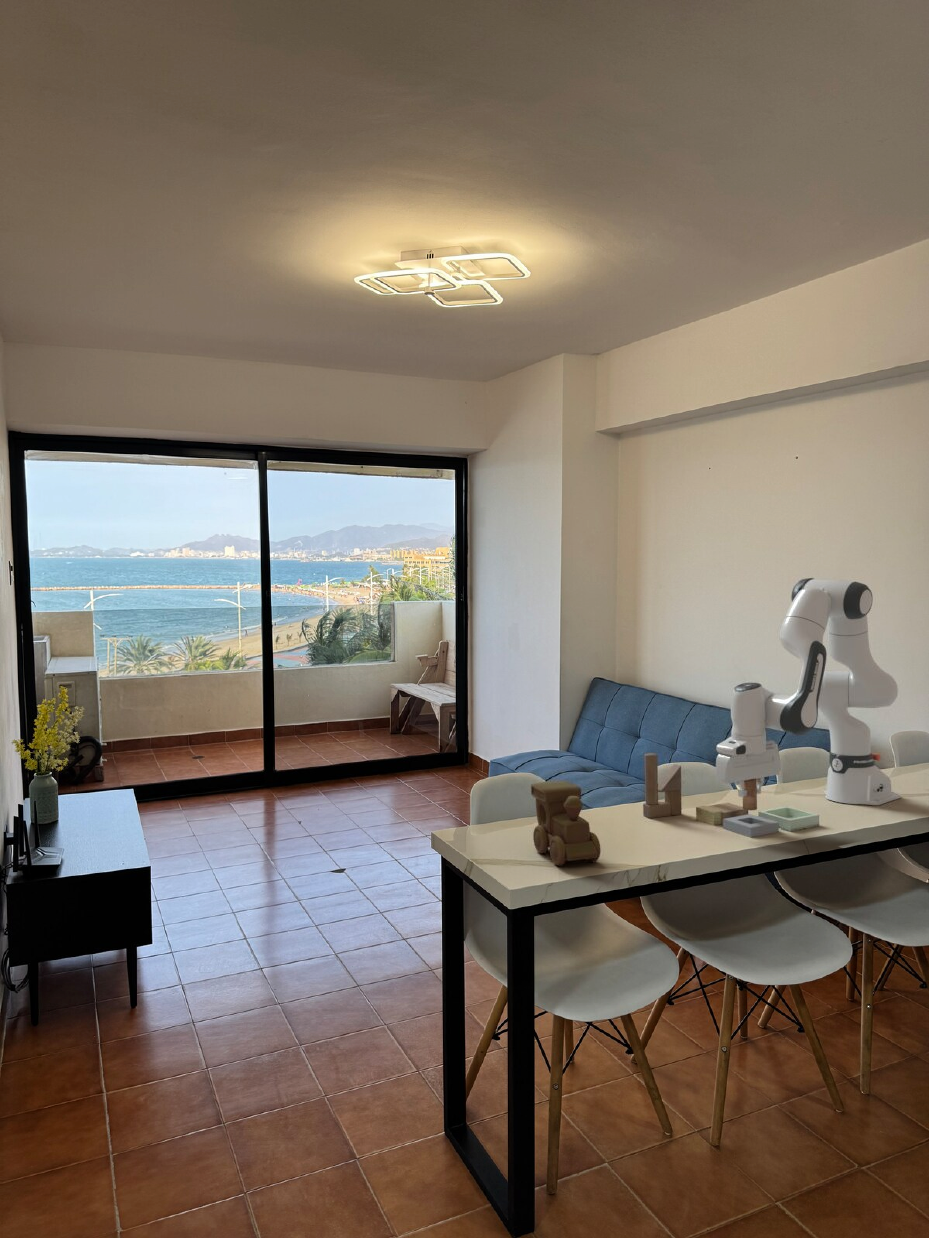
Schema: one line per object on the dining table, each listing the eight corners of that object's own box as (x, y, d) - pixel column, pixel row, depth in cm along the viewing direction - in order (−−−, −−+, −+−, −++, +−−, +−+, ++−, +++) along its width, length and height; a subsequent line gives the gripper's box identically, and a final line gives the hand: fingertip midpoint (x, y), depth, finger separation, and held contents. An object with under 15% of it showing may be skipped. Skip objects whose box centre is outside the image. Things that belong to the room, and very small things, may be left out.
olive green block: (704, 817, 241) (704, 805, 241) (722, 823, 235) (721, 810, 235) (696, 819, 240) (696, 807, 240) (713, 825, 234) (713, 812, 234)
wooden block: (682, 814, 245) (681, 752, 245) (649, 818, 242) (648, 755, 241) (675, 811, 249) (674, 750, 248) (642, 815, 245) (641, 753, 245)
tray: (787, 816, 241) (787, 806, 241) (819, 825, 231) (819, 814, 231) (758, 822, 236) (758, 811, 236) (789, 831, 226) (789, 820, 226)
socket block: (750, 822, 235) (750, 813, 235) (778, 831, 226) (778, 822, 226) (723, 828, 231) (722, 818, 231) (750, 837, 222) (750, 827, 222)
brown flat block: (728, 814, 246) (728, 802, 246) (748, 821, 238) (748, 808, 238) (703, 818, 242) (703, 806, 242) (723, 825, 235) (723, 812, 235)
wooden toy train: (528, 847, 217) (527, 783, 217) (569, 843, 220) (568, 779, 220) (560, 871, 198) (559, 800, 198) (605, 865, 201) (603, 796, 201)
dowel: (750, 805, 231) (749, 776, 231) (759, 809, 228) (759, 779, 228) (740, 807, 230) (739, 778, 229) (749, 811, 227) (749, 781, 226)
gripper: (768, 737, 235) (769, 787, 236) (711, 746, 227) (712, 797, 227) (786, 741, 230) (787, 792, 230) (728, 750, 221) (729, 803, 222)
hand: (749, 795), depth 229 cm, fingers closed on dowel, 4 cm apart
